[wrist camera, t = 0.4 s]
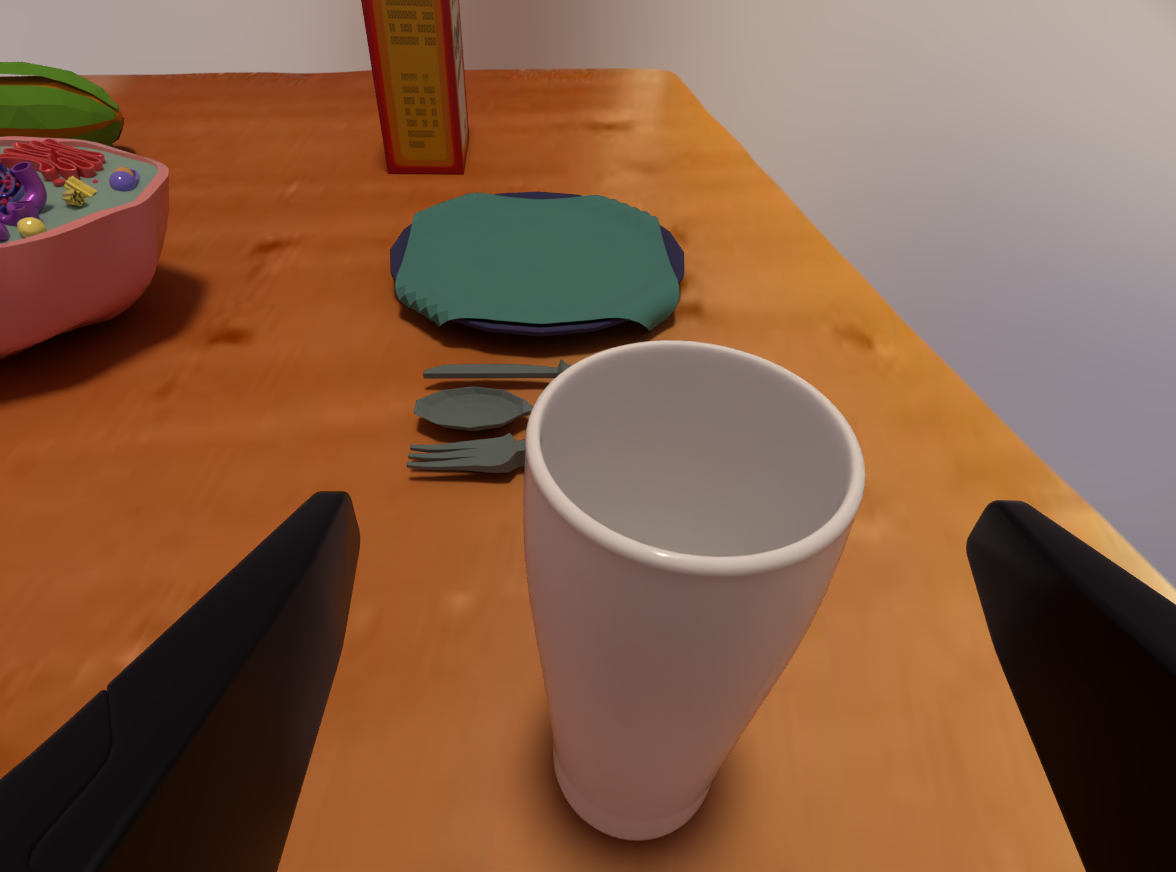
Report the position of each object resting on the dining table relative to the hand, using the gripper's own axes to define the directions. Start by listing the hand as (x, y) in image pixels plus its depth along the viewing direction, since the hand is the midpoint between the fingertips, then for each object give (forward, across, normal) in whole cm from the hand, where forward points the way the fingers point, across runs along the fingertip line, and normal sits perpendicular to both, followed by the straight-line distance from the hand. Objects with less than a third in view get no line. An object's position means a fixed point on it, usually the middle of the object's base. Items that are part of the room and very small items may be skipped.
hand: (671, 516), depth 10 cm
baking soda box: (+60, +14, +15) cm, 63 cm away
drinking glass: (+4, -1, +17) cm, 17 cm away
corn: (+55, +49, +15) cm, 75 cm away
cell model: (+29, +33, +16) cm, 47 cm away
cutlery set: (+32, +3, +16) cm, 36 cm away
